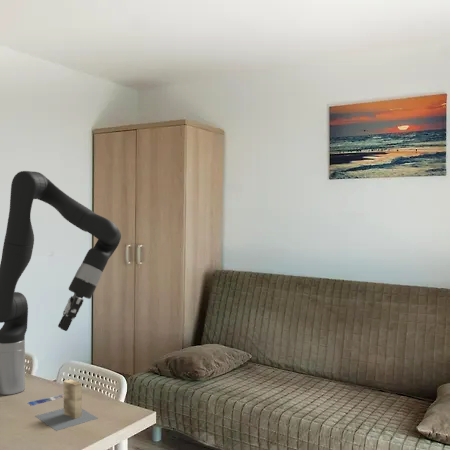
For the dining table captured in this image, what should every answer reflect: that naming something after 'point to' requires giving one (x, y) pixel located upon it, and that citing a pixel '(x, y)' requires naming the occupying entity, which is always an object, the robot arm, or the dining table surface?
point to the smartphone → (44, 400)
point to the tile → (72, 398)
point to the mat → (64, 419)
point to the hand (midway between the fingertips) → (62, 329)
